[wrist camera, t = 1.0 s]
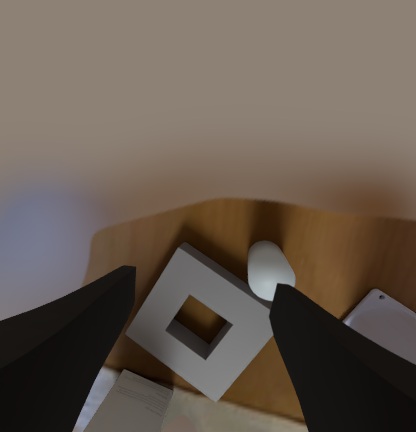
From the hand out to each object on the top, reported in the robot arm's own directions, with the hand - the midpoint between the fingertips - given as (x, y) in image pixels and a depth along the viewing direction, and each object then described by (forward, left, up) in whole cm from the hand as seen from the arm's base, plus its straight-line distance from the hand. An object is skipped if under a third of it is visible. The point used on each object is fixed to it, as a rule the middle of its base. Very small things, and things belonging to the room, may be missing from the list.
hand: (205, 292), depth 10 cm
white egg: (-5, 0, -14) cm, 15 cm away
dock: (-3, +11, -14) cm, 18 cm away
